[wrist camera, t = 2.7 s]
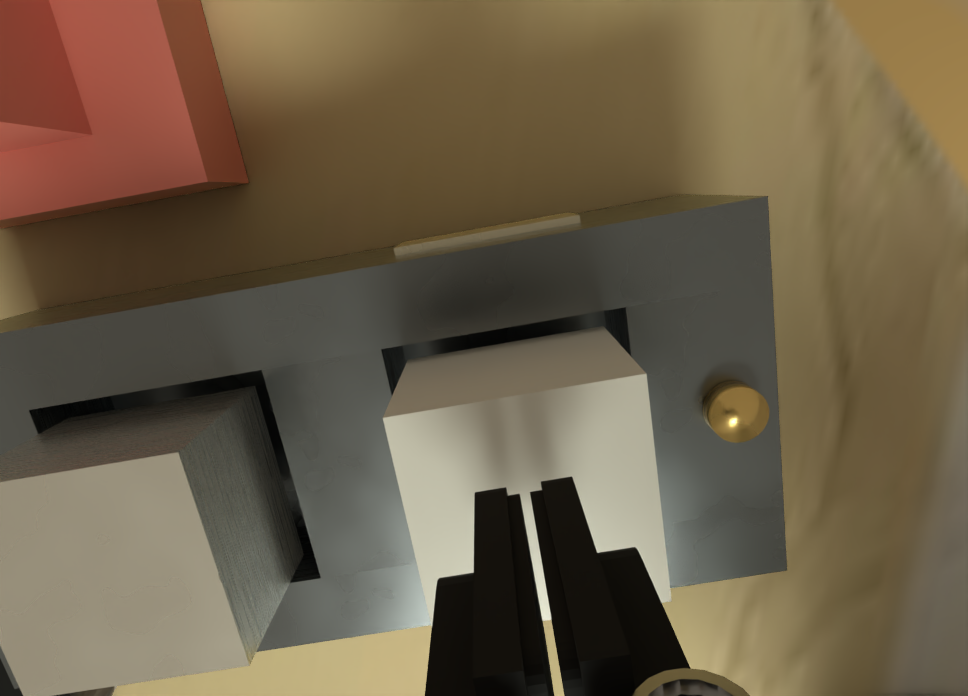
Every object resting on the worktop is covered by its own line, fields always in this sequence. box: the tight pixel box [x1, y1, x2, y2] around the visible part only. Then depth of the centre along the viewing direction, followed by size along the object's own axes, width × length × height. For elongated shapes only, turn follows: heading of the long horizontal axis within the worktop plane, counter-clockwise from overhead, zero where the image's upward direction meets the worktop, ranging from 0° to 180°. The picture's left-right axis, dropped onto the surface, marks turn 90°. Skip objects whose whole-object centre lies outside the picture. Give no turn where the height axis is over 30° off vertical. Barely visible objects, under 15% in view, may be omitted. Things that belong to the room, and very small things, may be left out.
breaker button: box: [383, 326, 672, 626], centre depth 14 cm, size 5×5×4 cm
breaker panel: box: [0, 194, 787, 696], centre depth 16 cm, size 10×22×10 cm, turn 100°
